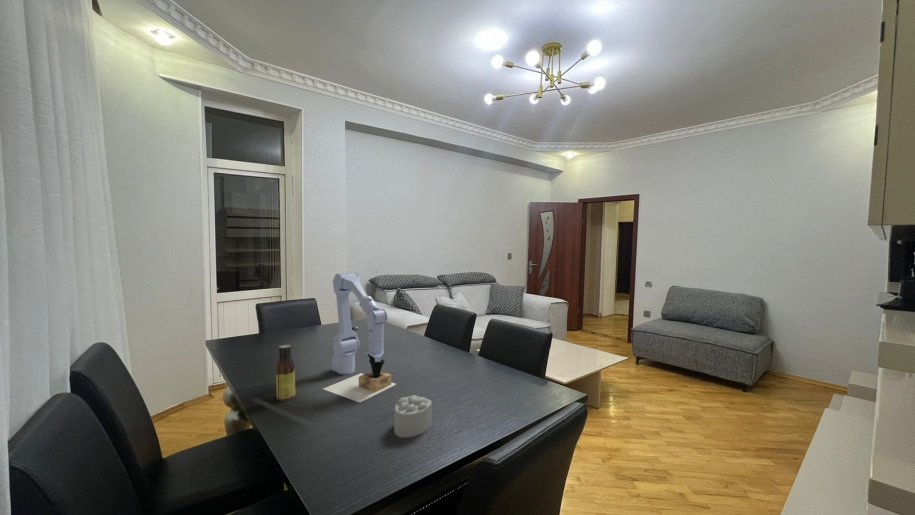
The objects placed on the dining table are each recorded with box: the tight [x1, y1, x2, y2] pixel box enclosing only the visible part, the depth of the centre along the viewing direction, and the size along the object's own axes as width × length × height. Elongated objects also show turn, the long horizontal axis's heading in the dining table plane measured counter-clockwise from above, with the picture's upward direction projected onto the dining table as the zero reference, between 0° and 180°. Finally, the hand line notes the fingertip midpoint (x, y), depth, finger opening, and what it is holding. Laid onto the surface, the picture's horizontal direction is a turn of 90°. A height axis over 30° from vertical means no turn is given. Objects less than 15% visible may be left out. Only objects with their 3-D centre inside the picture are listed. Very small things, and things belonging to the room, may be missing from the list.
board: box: [322, 373, 397, 403], centre depth 142 cm, size 20×20×1 cm
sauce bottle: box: [275, 344, 296, 402], centre depth 131 cm, size 7×6×20 cm
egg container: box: [393, 394, 433, 438], centre depth 115 cm, size 10×13×9 cm
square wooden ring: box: [359, 371, 392, 392], centre depth 144 cm, size 9×9×4 cm
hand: (375, 373), depth 144 cm, fingers open, 7 cm apart
